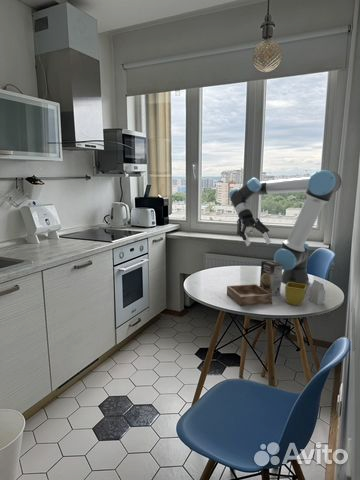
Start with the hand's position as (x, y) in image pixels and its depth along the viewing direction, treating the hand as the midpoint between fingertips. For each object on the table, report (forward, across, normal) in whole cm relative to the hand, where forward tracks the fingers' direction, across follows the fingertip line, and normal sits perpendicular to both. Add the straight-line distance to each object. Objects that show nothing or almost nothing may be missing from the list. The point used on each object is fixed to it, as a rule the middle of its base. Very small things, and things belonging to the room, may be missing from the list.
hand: (259, 244), depth 174 cm
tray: (+26, +16, -7) cm, 32 cm away
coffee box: (+24, 0, -9) cm, 26 cm away
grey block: (+38, -13, +5) cm, 40 cm away
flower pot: (+36, -1, +3) cm, 36 cm away
